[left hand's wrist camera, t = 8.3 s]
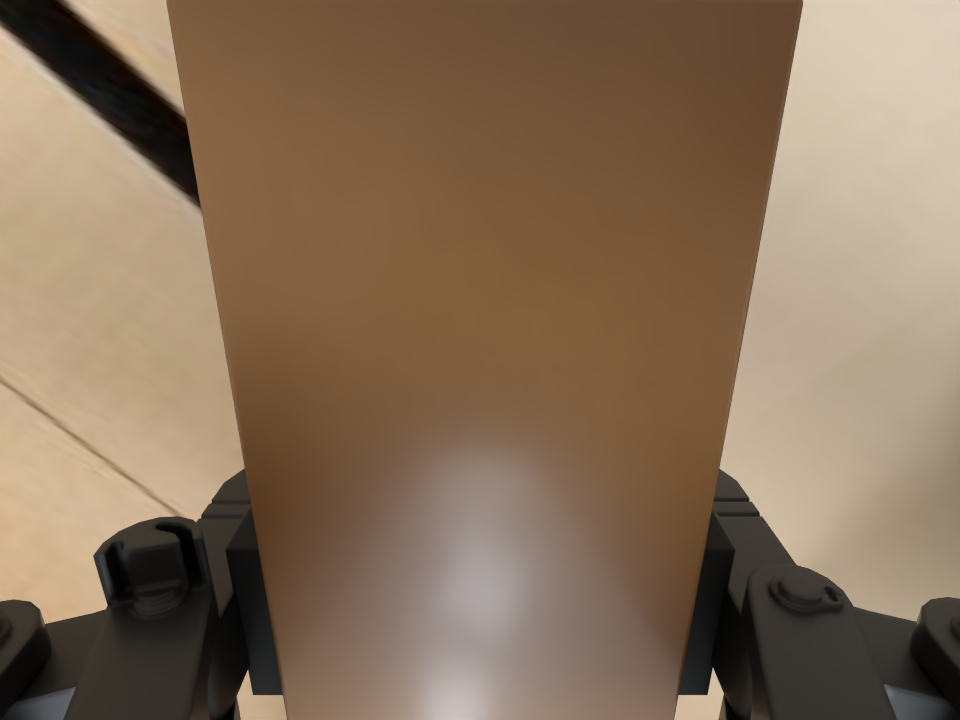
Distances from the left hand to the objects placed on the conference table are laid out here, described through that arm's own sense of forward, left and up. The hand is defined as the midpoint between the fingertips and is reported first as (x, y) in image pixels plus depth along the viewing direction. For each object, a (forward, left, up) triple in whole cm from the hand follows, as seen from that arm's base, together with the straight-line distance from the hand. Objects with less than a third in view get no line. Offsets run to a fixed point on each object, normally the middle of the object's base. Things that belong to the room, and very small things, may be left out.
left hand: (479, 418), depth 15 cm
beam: (+2, +22, -1) cm, 22 cm away
